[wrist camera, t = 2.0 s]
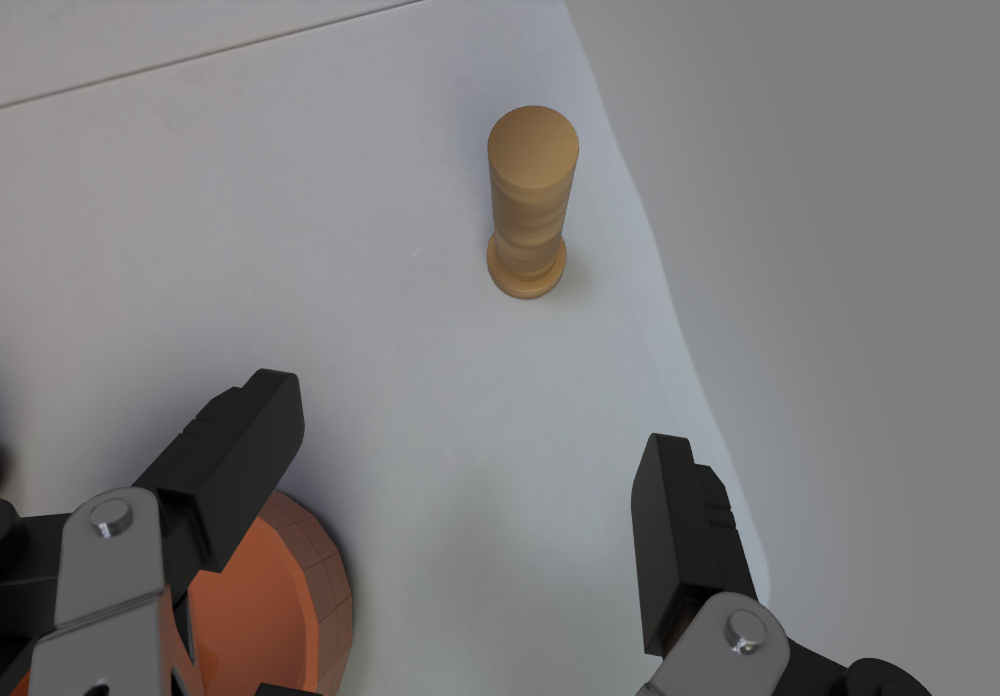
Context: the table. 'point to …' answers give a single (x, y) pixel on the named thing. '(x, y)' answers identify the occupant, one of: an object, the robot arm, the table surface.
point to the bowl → (272, 609)
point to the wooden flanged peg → (529, 199)
